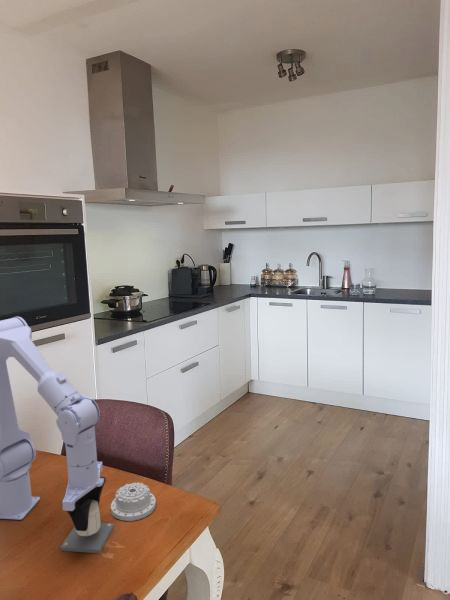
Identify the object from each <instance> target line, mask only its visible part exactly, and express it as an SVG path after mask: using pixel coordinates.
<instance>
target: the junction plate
mask: <svg viewBox="0 0 450 600" xmlns="http://www.w3.org/2000/svg"><path fill="white" fill-rule="evenodd" d="M100 524H101V527H100V528H99V530H98V532H97V533H94V534H92V535H90V536H89V535H88V536H80V535H78V533H77V532H76V528H75V526H74V527H73V528H72V529H71V531H70V532H69V534H68V536H67V537H66V539H64V541H63V543H62V544H61V545H60V551H64V552H74V553H75V552H77V553H78V552H79V553H87V554H88V553H91V554H100V553H101V552H102V549H103V548H104V546H105V544H106V543H107V541H108V538H109V537H110V535H111V533H112V532H113V530H114V528H115V523H113V522H100Z"/></svg>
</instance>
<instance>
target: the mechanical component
mask: <svg viewBox="0 0 450 600" xmlns="http://www.w3.org/2000/svg"><path fill="white" fill-rule="evenodd" d="M156 501H157V500H156V497H155V495H154V494H153V493H151V491H150V488H149V485H146V484H144V482H139V481H138V482H134V481H133V483H129V484H128V483H125V485H124V486H122V487H121V486H120V487H119V488H118V489H116V492H115V498H114V499H113V500H112V502H111V503H110V512H111V515H112V516H113V517H114V518H115V519H116V520H117V519H118V520H120V521H123V522H124V521H126V522H133V521H134V522H135V521H139V520H142V519H144V518H146V517H148V516H149V515H151V514H152V513H153V512H154V511H155V509H156V507H157V503H156Z"/></svg>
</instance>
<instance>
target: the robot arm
mask: <svg viewBox="0 0 450 600" xmlns="http://www.w3.org/2000/svg"><path fill="white" fill-rule="evenodd" d="M32 336H33V334H32V328H31V327H30V326H29V325H28V323H27V321H26V320H25V319H24V318H23V317H21V316H14V317H11V318H8V319H3V320H2V319H1V320H0V519H1V520H2V519H3V520H21V521H22V520H23V519H24V518H25V517H26V516H27V514H29V513H30V511H31V510H32V509H33V508H34V506H36V505H37V504H38V502H39V501H40V500H41V498H40V496H32V495H33V494H32V486H31V480H30V479H31V478H30V476H31V475H30V468H32V462H33V461H34V460H35V459H36V454H37V453H36V452H37V451H36V446H35V444H34V443H33V441H32V438H31V434H30V432H29V431H27V430H25V429H23V428H19V424H18V422H19V421H18V418H17V413H16V408H15V403H14V397H13V391H12V388H11V387H12V386H11V381H10V376H9V371H8V365H7V361H8V359H9V358H14V359H15V360H16V361H17V362H18V363H19V364H20V365H21V366H22V367H23V368H24V369H25V370H26V372H28V374H30V375H31V377H32V378H33V379H34V380H35V381H36V382H37V389H36V390H37V392H38V394H39V395H40V397H42V399H43V400H44V401H45V402H46V403H47V405H48V406H49V407H50V409H51V410H52V411H53V412H54V414H55V415H56V416H57V418H56V419H55V423H56V426H57V428H58V430H59V432H60V433H61V440H63V443H64V444H65V445H64V446H65V454H66V466H67V479H68V482H67V485H66V491H65V495H64V498H63V499H62V500H61V507H62V511H66V512H67V514H68V515H69V516H70V518H71V520H72V521H71V522H72V523H73V525H74V527H75V528H76V530H77V531H86V530H87V528H88V515H89V509H90V505H91V502H92V500H96V501H97V502H98V507H100V500H101V495H102V491H103V489H104V485H105V483H106V482H107V481H106V480H107V478H106V477H105V476H101V473H102V471H103V470H104V469H103V466H104V465H103V461H98V455H97V454H98V453H97V441H96V440H97V439H96V429H95V426H96V424H97V423H98V422H99V421H100V419H101V418H100V417H101V411H100V408H99V406H98V403H97V402H96V401H95V399H93V397H90V396H86V395H85V394H84V393H80V392H78V390H77V389H76V387H74V385H73V384H72V383H71V382H70V380H69V379H68V378H67V377H66V376H65V375H64V373H62V372H60V371H54V370H53V369H52V367H51V366H50V365H49V363H48V362H47V361H46V359H45V357H44V356H43V354H42V353H41V352H40V350H39V349H38V348H37V346H36V344H35V343H34V342H33V339H32V338H33V337H32Z"/></svg>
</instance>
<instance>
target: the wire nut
mask: <svg viewBox="0 0 450 600" xmlns="http://www.w3.org/2000/svg"><path fill="white" fill-rule="evenodd" d="M99 507H100V506H99ZM99 507H98V502H97V501H96V500H92V502H91V505H90V509H89V515H88V528H87V530H86V531H77V530H76V532H77V533H78V535H80V536H88V535H89V536H90V535H92V534H94V533H97V532H98V530H99V528H100V527H101V524H100V523H101V515H100V508H99Z"/></svg>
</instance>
